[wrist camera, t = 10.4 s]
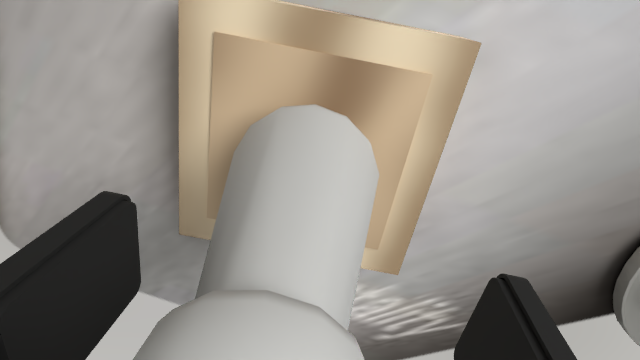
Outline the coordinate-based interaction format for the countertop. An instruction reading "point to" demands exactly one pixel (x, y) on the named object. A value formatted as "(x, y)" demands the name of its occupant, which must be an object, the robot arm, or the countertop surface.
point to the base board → (316, 101)
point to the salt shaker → (281, 247)
